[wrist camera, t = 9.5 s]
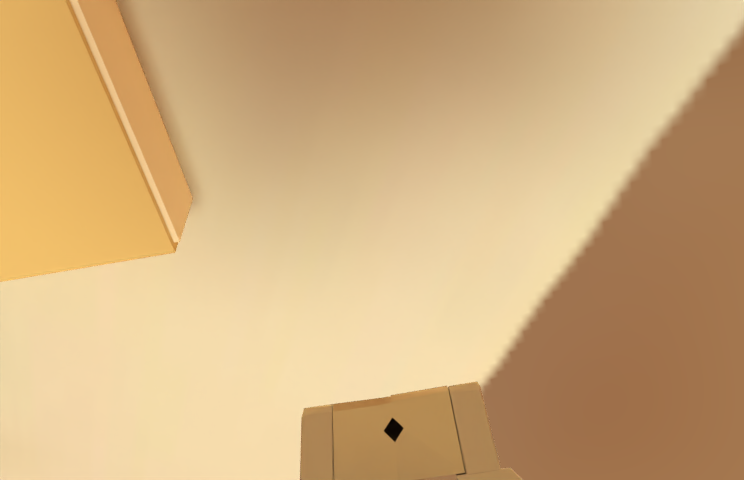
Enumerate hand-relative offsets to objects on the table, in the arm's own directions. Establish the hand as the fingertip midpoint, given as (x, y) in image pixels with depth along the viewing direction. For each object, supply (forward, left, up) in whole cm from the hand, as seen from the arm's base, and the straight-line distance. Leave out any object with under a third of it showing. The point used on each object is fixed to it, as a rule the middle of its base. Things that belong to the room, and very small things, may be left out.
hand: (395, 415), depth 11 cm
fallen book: (+1, -16, -19) cm, 25 cm away
